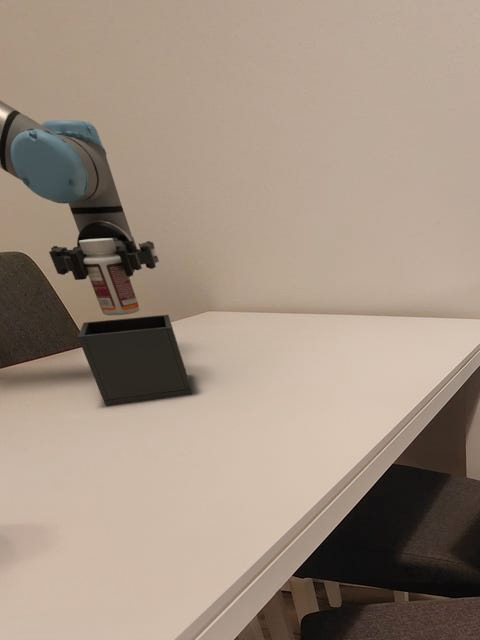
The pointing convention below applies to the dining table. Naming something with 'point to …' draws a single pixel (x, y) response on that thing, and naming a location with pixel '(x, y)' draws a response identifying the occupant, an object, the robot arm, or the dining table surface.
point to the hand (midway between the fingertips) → (101, 265)
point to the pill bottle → (108, 277)
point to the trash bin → (134, 359)
